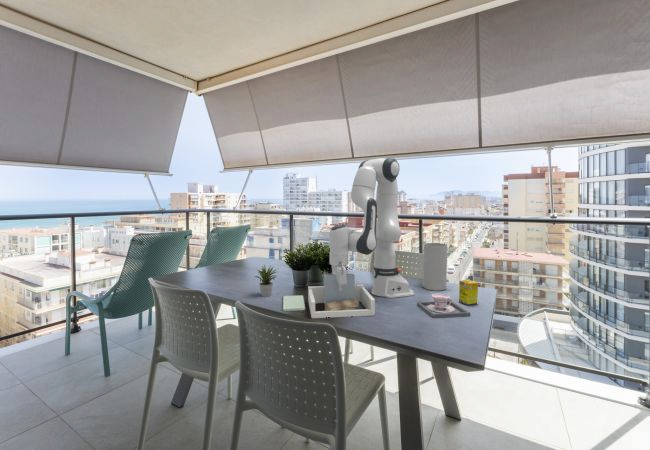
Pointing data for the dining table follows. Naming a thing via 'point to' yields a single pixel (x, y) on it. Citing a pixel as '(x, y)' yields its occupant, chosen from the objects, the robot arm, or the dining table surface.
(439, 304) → the teacup
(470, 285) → the supplement box
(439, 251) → the cylinder vase
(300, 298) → the sage board
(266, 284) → the house plant
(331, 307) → the offcut stack
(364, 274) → the dining table surface
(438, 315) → the coaster tray
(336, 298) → the light grey square panel
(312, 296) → the white open bin
